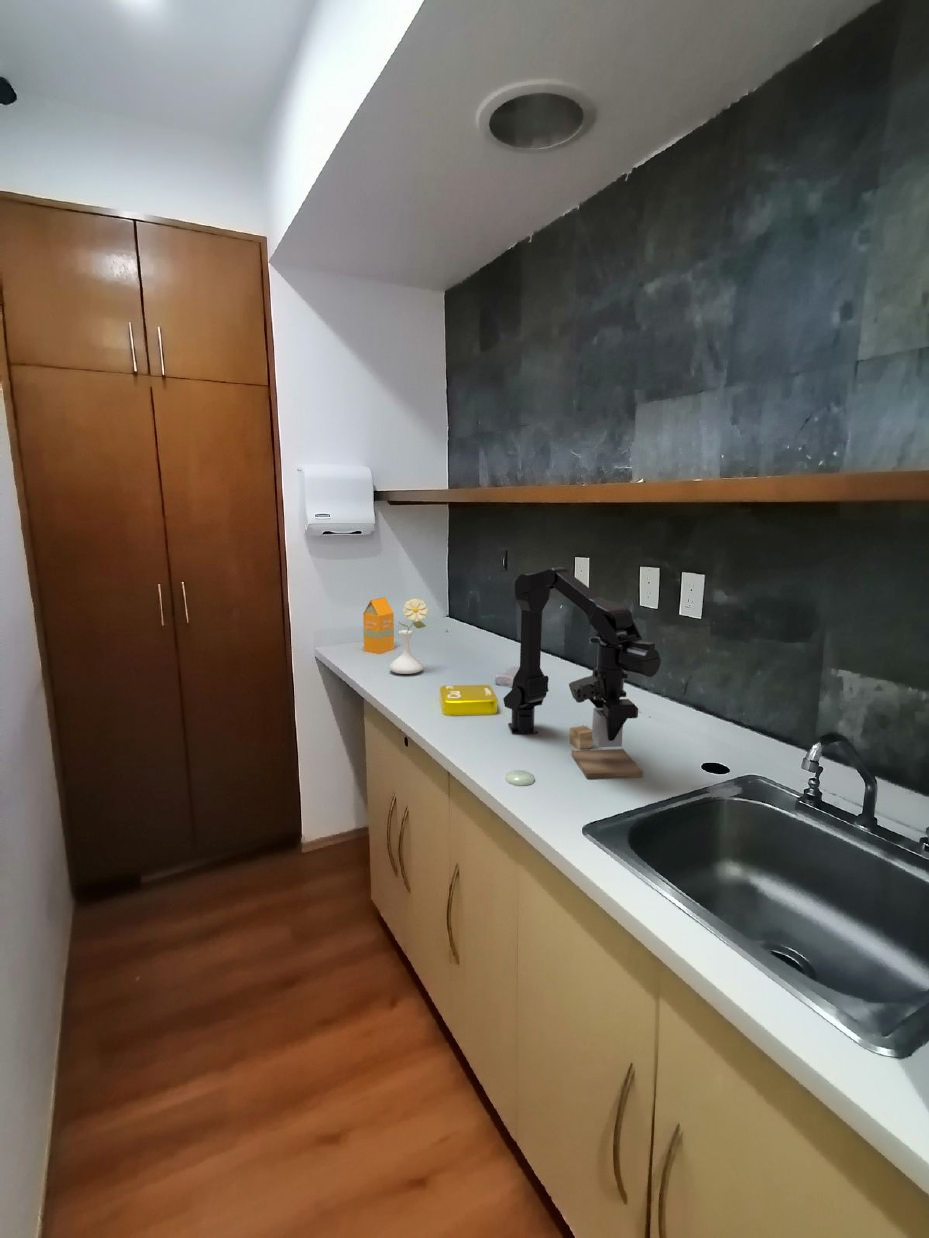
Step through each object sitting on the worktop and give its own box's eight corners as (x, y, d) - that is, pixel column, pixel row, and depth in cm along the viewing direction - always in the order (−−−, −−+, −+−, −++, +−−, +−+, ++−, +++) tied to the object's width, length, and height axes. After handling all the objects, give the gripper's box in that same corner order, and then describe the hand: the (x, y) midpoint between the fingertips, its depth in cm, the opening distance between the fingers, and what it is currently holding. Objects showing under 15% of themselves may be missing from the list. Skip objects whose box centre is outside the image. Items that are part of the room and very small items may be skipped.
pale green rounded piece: (503, 775, 132) (503, 770, 132) (530, 774, 133) (531, 769, 133) (507, 787, 126) (507, 783, 126) (536, 786, 127) (537, 782, 127)
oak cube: (569, 743, 149) (569, 727, 148) (583, 741, 151) (583, 725, 150) (579, 749, 145) (580, 733, 145) (593, 746, 147) (594, 730, 146)
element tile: (498, 715, 168) (498, 698, 168) (443, 717, 167) (443, 700, 166) (490, 698, 183) (490, 682, 182) (439, 699, 182) (439, 683, 181)
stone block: (538, 687, 200) (513, 675, 205) (541, 673, 198) (515, 662, 204) (517, 697, 191) (491, 685, 196) (520, 683, 189) (494, 671, 194)
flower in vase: (385, 676, 204) (384, 600, 199) (393, 666, 215) (392, 595, 210) (425, 677, 202) (424, 601, 197) (431, 668, 213) (430, 596, 209)
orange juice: (394, 649, 239) (393, 598, 236) (379, 654, 232) (378, 601, 228) (378, 646, 243) (377, 596, 240) (363, 651, 236) (362, 599, 232)
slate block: (591, 738, 138) (593, 708, 136) (613, 737, 138) (615, 707, 137) (598, 747, 133) (600, 715, 131) (621, 746, 133) (623, 715, 132)
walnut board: (571, 755, 142) (571, 750, 141) (622, 753, 143) (623, 748, 143) (586, 778, 130) (587, 773, 130) (642, 776, 131) (642, 771, 131)
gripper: (562, 655, 140) (559, 721, 143) (586, 679, 122) (582, 754, 125) (610, 654, 142) (606, 720, 145) (641, 678, 123) (636, 752, 126)
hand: (606, 735), depth 135 cm, fingers closed on slate block, 5 cm apart
